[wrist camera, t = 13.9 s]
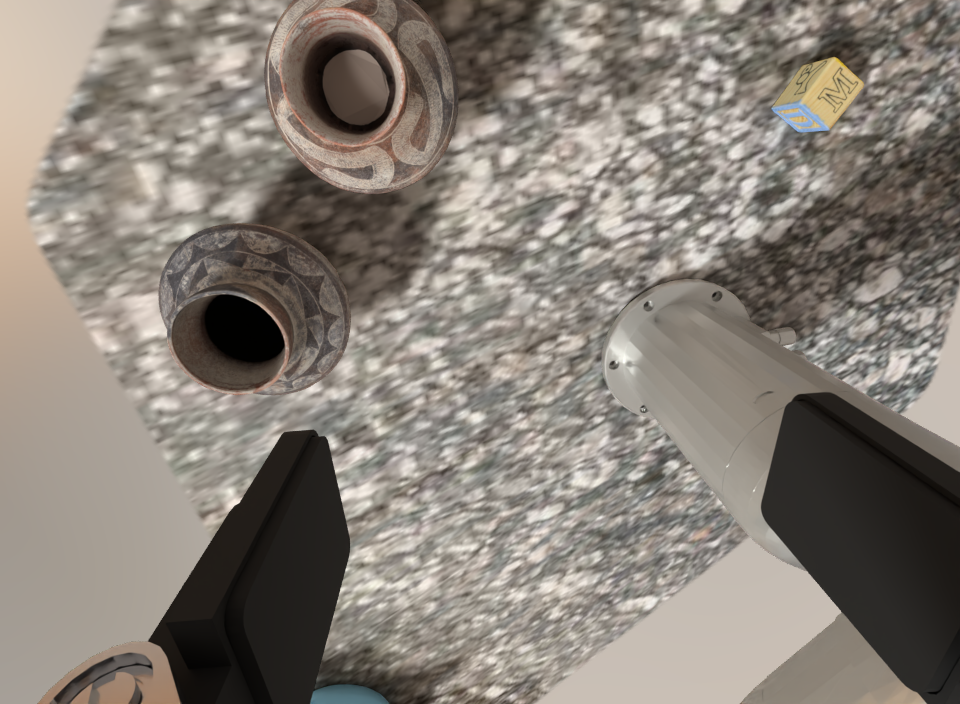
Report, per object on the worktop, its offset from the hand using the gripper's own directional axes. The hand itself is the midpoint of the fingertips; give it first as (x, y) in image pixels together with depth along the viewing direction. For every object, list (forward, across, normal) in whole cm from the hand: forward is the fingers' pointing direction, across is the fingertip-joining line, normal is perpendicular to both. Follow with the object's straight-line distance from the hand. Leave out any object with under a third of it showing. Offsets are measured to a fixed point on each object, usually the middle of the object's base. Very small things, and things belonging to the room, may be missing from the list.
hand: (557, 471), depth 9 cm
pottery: (+26, +11, -3) cm, 29 cm away
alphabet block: (+28, -22, -8) cm, 37 cm away
